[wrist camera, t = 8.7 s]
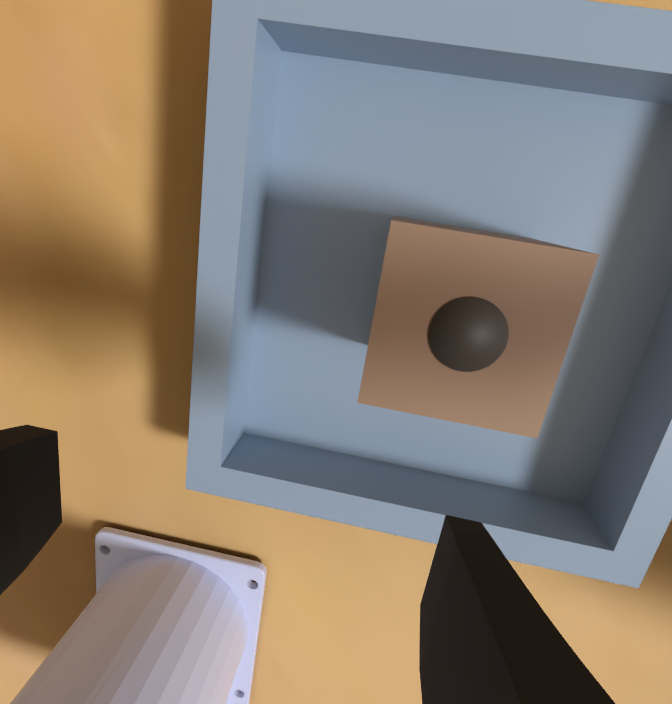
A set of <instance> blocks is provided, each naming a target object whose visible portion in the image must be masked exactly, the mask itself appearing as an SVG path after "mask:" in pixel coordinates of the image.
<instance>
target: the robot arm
mask: <svg viewBox="0 0 672 704" xmlns="http://www.w3.org/2000/svg"><path fill="white" fill-rule="evenodd" d="M61 523H62V512H61V493H60V473H59V454H58V434H57V431H53V430H49V429H44V428H39V427H35V426H30V425H24V426H19V427H13V428H9V429H4V430H0V595H1V594H2V593H3V592H4V591H5V590H6V589H7V588H8V586H9V585H10V584H11V583H12V582H13V581H14V580H15V579H16V578H17V577H18V576H19V575H20V574H21V573H22V572H23V571H24V570H25V568H26V567H27V566H28V565H29V563H30V562H31V561H32V560H33V559H34V557H35V556H36V555H37V554H38V552H39V551H40V550H41V549H42V547H43V546H44V545H45V544H46V542H47V541H48V540H49V538H50V537H51V536H52V534H53V533H54V532H55V530H56V529H57V528H58V527H59V525H60V524H61ZM95 560H96V595H95V596H94V597H93V599H92V600H91V601H90V603H89V604H88V605H87V606H86V608H85V609H84V610H83V611H82V613H81V614H80V615H79V617H78V618H77V619H76V620H75V622H74V623H73V624H72V626H71V627H70V628H69V629H68V631H67V632H66V633H65V634H64V636H63V637H62V638H61V640H60V641H59V642H58V643H57V645H56V646H55V647H54V648H53V650H52V651H51V652H50V654H49V655H48V656H47V657H46V659H45V660H44V661H43V662H42V664H41V665H40V666H39V668H38V669H37V670H36V671H35V673H34V674H33V675H32V677H31V678H30V679H29V680H28V682H27V683H26V684H25V685H24V687H23V688H22V689H21V691H20V692H19V693H18V694H17V696H16V697H15V698H14V699H13V701H12V702H11V703H10V704H249V702H250V695H251V687H252V680H253V672H254V665H255V657H256V649H257V642H258V634H259V627H260V619H261V612H262V604H263V597H264V589H265V582H266V574H267V571H266V568H265V566H264V565H263V564H262V563H260V562H258V561H254V560H250V559H245V558H241V557H237V556H232V555H228V554H224V553H219V552H215V551H211V550H206V549H202V548H197V547H193V546H189V545H184V544H180V543H176V542H171V541H167V540H163V539H158V538H154V537H150V536H145V535H141V534H137V533H132V532H128V531H124V530H119V529H115V528H111V527H104V528H102V529H101V530H100V531H99V532H98V533H97V534H96V536H95ZM251 580H254V581H256V582H253V581H251ZM420 679H421V691H422V703H423V704H615V703H614V701H613V700H612V699H611V698H610V696H609V695H608V694H607V693H606V691H605V690H604V689H603V688H602V686H601V685H600V684H599V683H598V682H597V680H596V679H595V678H594V677H593V675H592V674H591V673H590V672H589V670H588V669H587V668H586V667H585V665H584V664H583V663H582V661H581V660H580V659H579V658H578V656H577V655H576V654H575V652H574V651H573V650H572V648H571V647H570V646H569V645H568V643H567V642H566V641H565V639H564V638H563V637H562V635H561V634H560V633H559V631H558V630H557V629H556V627H555V626H554V625H553V623H552V622H551V621H550V619H549V618H548V616H547V615H546V614H545V612H544V611H543V610H542V608H541V607H540V606H539V604H538V603H537V601H536V600H535V599H534V597H533V596H532V594H531V593H530V592H529V590H528V589H527V587H526V586H525V584H524V583H523V582H522V580H521V579H520V577H519V576H518V574H517V573H516V572H515V570H514V569H513V567H512V566H511V564H510V563H509V562H508V560H507V559H506V557H505V556H504V554H503V553H502V551H501V550H500V548H499V547H498V546H497V544H496V543H495V541H494V540H493V538H492V537H491V535H490V534H489V532H488V531H487V530H486V528H485V527H484V525H483V524H482V523H481V522H477V521H473V520H468V519H463V518H459V517H454V516H449V515H446V516H445V519H444V523H443V526H442V530H441V533H440V537H439V540H438V544H437V548H436V551H435V555H434V558H433V562H432V565H431V569H430V573H429V576H428V580H427V583H426V587H425V590H424V594H423V598H422V601H421V605H420Z"/></svg>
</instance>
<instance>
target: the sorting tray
mask: <svg viewBox="0 0 672 704" xmlns="http://www.w3.org/2000/svg"><path fill="white" fill-rule="evenodd" d="M394 216H397V217H403V218H409V219H415V220H421V221H427V222H433V223H439V224H445V225H451V226H458V227H464V228H470V229H476V230H482V231H488V232H494V233H500V234H506V235H512V236H519V237H525V238H531V239H536V240H540V241H544V242H549V243H553V244H557V245H561V246H565V247H570V248H574V249H578V250H582V251H586V252H591V253H595V254H599V257H598V260H597V263H596V266H595V269H594V272H593V275H592V278H591V281H590V284H589V287H588V290H587V293H586V296H585V299H584V302H583V304H582V307H581V310H580V313H579V316H578V319H577V322H576V325H575V328H574V331H573V334H572V337H571V340H570V343H569V346H568V349H567V352H566V355H565V358H564V361H563V364H562V367H561V370H560V373H559V376H558V379H557V382H556V385H555V388H554V391H553V394H552V397H551V400H550V403H549V406H548V408H547V411H546V414H545V417H544V420H543V423H542V426H541V429H540V432H539V435H538V438H532V437H527V436H522V435H517V434H512V433H507V432H502V431H497V430H492V429H487V428H482V427H477V426H472V425H467V424H462V423H457V422H452V421H447V420H442V419H436V418H431V417H426V416H421V415H416V414H411V413H406V412H401V411H396V410H391V409H386V408H381V407H376V406H371V405H366V404H361V403H357V402H358V396H359V391H360V386H361V380H362V375H363V369H364V364H365V359H366V353H367V348H368V342H369V337H370V332H371V326H372V321H373V315H374V310H375V305H376V299H377V294H378V289H379V283H380V278H381V272H382V267H383V262H384V256H385V251H386V245H387V240H388V235H389V229H390V224H391V220H392V218H393V217H394ZM186 489H189V490H194V491H198V492H203V493H207V494H212V495H216V496H221V497H225V498H230V499H235V500H239V501H244V502H248V503H253V504H257V505H262V506H266V507H271V508H275V509H280V510H285V511H289V512H294V513H298V514H303V515H307V516H312V517H316V518H321V519H325V520H330V521H335V522H339V523H344V524H348V525H353V526H357V527H362V528H366V529H371V530H375V531H380V532H385V533H389V534H394V535H398V536H403V537H407V538H412V539H416V540H421V541H425V542H430V543H435V544H438V540H439V537H440V533H441V530H442V526H443V523H444V519H445V516H446V515H449V516H454V517H459V518H463V519H468V520H473V521H477V522H481V523H482V524H483V525H484V527H485V528H486V530H487V531H488V532H489V534H490V535H491V537H492V538H493V540H494V541H495V543H496V544H497V546H498V547H499V548H500V550H501V551H502V553H503V554H504V556H505V557H506V559H507V560H512V561H516V562H521V563H525V564H530V565H535V566H539V567H544V568H548V569H553V570H557V571H562V572H566V573H571V574H575V575H580V576H585V577H589V578H594V579H598V580H603V581H607V582H612V583H616V584H621V585H625V586H630V587H635V588H639V586H640V584H641V582H642V580H643V578H644V576H645V574H646V572H647V570H648V567H649V565H650V563H651V561H652V559H653V557H654V555H655V553H656V551H657V549H658V546H659V544H660V542H661V540H662V538H663V536H664V534H665V532H666V530H667V528H668V525H669V523H670V521H671V519H672V11H667V10H659V9H651V8H643V7H635V6H627V5H619V4H610V3H602V2H594V1H586V0H212V16H211V34H210V52H209V70H208V89H207V107H206V125H205V143H204V162H203V180H202V198H201V216H200V235H199V253H198V271H197V290H196V308H195V326H194V344H193V363H192V381H191V399H190V417H189V436H188V454H187V472H186Z"/></svg>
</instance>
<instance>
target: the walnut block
mask: <svg viewBox="0 0 672 704" xmlns="http://www.w3.org/2000/svg"><path fill="white" fill-rule="evenodd" d="M598 257H599V254H595V253H591V252H586V251H582V250H578V249H574V248H570V247H565V246H561V245H557V244H553V243H549V242H544V241H540V240H536V239H531V238H525V237H519V236H512V235H506V234H500V233H494V232H488V231H482V230H476V229H470V228H464V227H458V226H451V225H445V224H439V223H433V222H427V221H421V220H415V219H409V218H403V217H397V216H394V217H393V218H392V220H391V224H390V229H389V235H388V240H387V245H386V251H385V256H384V262H383V267H382V272H381V278H380V283H379V289H378V294H377V299H376V305H375V310H374V315H373V321H372V326H371V332H370V337H369V342H368V348H367V353H366V359H365V364H364V369H363V375H362V380H361V386H360V391H359V396H358V402H357V403H361V404H366V405H371V406H376V407H381V408H386V409H391V410H396V411H401V412H406V413H411V414H416V415H421V416H426V417H431V418H436V419H442V420H447V421H452V422H457V423H462V424H467V425H472V426H477V427H482V428H487V429H492V430H497V431H502V432H507V433H512V434H517V435H522V436H527V437H532V438H538V435H539V432H540V429H541V426H542V423H543V420H544V417H545V414H546V411H547V408H548V406H549V403H550V400H551V397H552V394H553V391H554V388H555V385H556V382H557V379H558V376H559V373H560V370H561V367H562V364H563V361H564V358H565V355H566V352H567V349H568V346H569V343H570V340H571V337H572V334H573V331H574V328H575V325H576V322H577V319H578V316H579V313H580V310H581V307H582V304H583V302H584V299H585V296H586V293H587V290H588V287H589V284H590V281H591V278H592V275H593V272H594V269H595V266H596V263H597V260H598Z"/></svg>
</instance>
